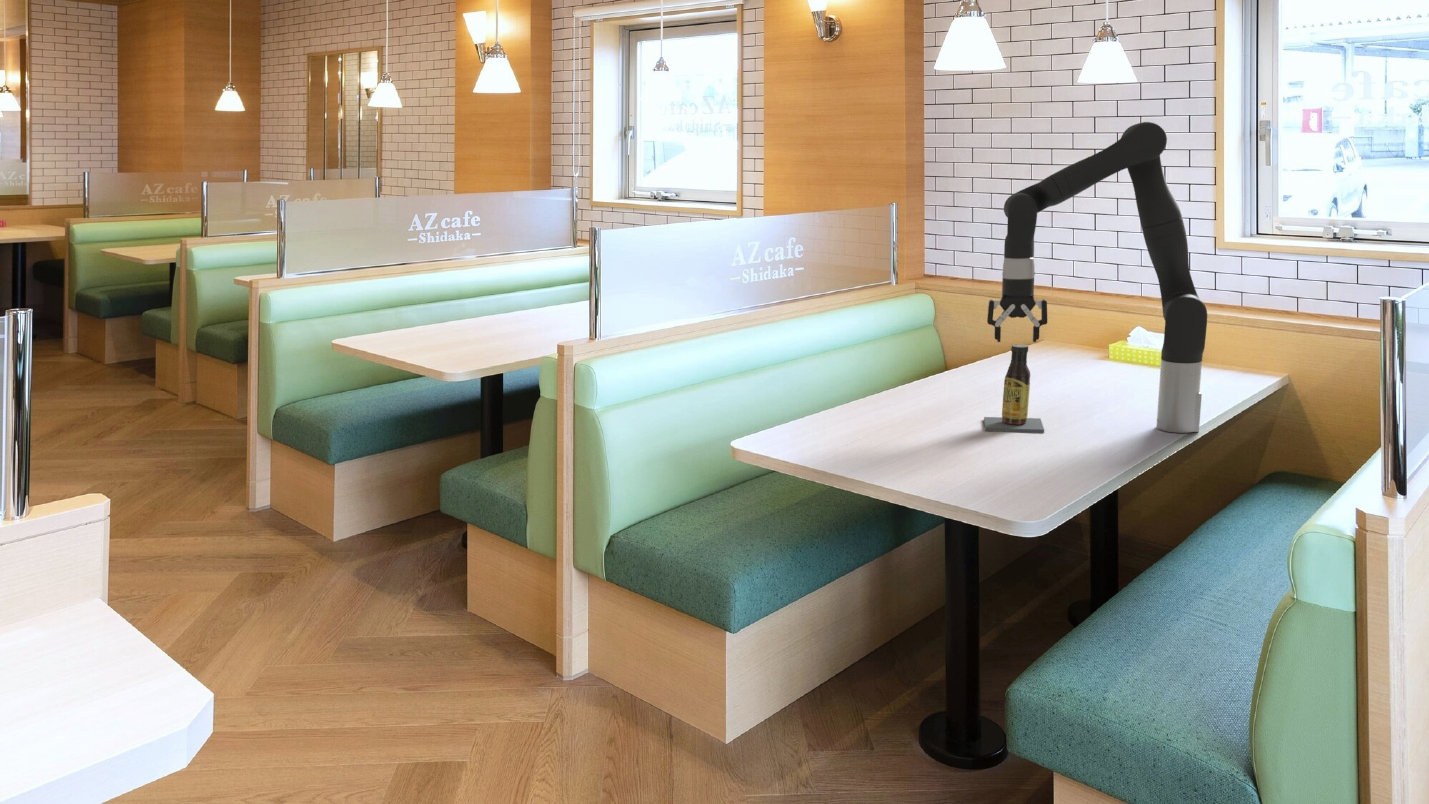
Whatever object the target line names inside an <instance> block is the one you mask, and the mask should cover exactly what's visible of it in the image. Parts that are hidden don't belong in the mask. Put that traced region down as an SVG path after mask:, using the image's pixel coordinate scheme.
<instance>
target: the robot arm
mask: <svg viewBox="0 0 1429 804" xmlns="http://www.w3.org/2000/svg"><path fill="white" fill-rule="evenodd" d="M1167 143H1168V135H1167V132H1166V131H1165V129H1164V128H1163V127H1162V126H1161V125H1159V123H1155V122H1153V121H1152V122H1151V121H1143V122H1142V121H1141V122H1138V123H1135V124H1132V125H1130V126H1129V127H1127V128H1126V129H1125V131H1123V133H1122V135H1121V136H1120V139H1118V140H1117V141H1115V142H1114V143H1112V144H1111V145H1109V146H1108V147H1106V148H1104V149H1102V150H1101V151H1099V152H1096V153H1094V154H1092V155H1090V156H1087V157H1085V158H1083V159H1081V160H1079V161H1076V162H1074V163H1072V164H1069V165H1068V166H1066V167H1063V168H1062V169H1060V170H1058V171H1056V172H1053V174H1050V175H1048V176H1047V177H1046V178H1044V179H1042V180H1041V181H1039V182H1037V183H1034V184H1032V185H1030V186H1028V187H1024V188H1023V189H1021V190H1019V191H1017V192H1014V193H1013V194H1011V195H1010V196H1008V197H1007V199H1006V200H1005V202H1004V204H1003V212H1004V213H1003V214H1004V215H1005V217H1006V218H1007V231H1006V233H1007V234H1006V236H1005V239H1004V246H1003V247H1004V249H1003V250H1004V252H1003V257H1004V258H1003V263H1002V275H1001V276H1002V278H1001V279H1002V281H1001V282H1002V283H1001V285H1002V286H1001V287H1002V288H1001V298H1000V300H995V299H993V298H992V299H989V300H988V307H987V321H986V322H987V324H988V325H991V326H993V327H994V340H995V341H996V340H997V341H996V342H997V343H1001V339H1002V338H1001V337H1002V335H1001V333H1002V332H1001V330H1002V327H1001V324H1002V323H1003V322H1004V321H1005V320H1006V319H1007V318H1008V317H1009V318H1010V319H1011V318H1013V319H1014V318H1022V319H1024V318H1026V317H1027V318H1028V319H1029V320H1030V321H1031V322H1032V324H1033V327H1032V342H1033V343H1037V340H1039V339H1040V327H1042V326H1044V325H1047V324H1048V301H1047V300H1046V299H1045V298H1042V299H1040V300H1038V299H1037V300H1035V297H1034V296H1035V295H1034V293H1035V274H1036V272H1035V233H1036V227H1037V219H1038V213H1040V212H1041V211H1044V210H1046V209H1047V208H1050V207H1054V206H1057V205H1059V204H1061V203H1063V202H1065V201H1068V200H1069V199H1071V198H1074V197H1075V196H1076V195H1078V194H1080V193H1083V191H1086V190H1088V189H1089V188H1091V187H1092V186H1095V185H1097V184H1098V183H1099V182H1101V181H1103V180H1104V179H1107V178H1108V177H1110V176H1112V175H1115V174H1117V173H1119V172H1120V171H1123V170H1125V169H1127V171H1128V174H1129V177H1130V179H1131V182H1132V187H1133V191H1134V196H1135V197H1134V198H1135V203H1136V208H1137V213H1138V217H1139V218H1138V219H1139V220H1140V222H1139V223H1140V227H1141V230H1142V234H1143V239H1144V242H1145V245H1146V249H1147V252H1148V255H1149V259H1150V261H1151V264H1152V266H1153V268H1154V271H1155V273H1156V276H1157V280H1158V284H1159V291H1160V297H1161V299H1160V300H1161V306H1162V315H1163V320H1164V331H1163V344H1162V348H1161V356H1160V367H1159V369H1160V370H1159V371H1160V372H1159V384H1158V385H1159V386H1158V399H1157V412H1156V413H1157V414H1156V429H1158V430H1160V431H1163V432H1167V433H1168V432H1169V433H1179V434H1181V433H1182V434H1185V433H1186V434H1188V433H1193V432H1194V433H1197V432H1198V433H1199V432H1200V421H1201V420H1200V419H1201V409H1202V398H1203V397H1202V392H1200V391H1201V382H1202V381H1201V379H1202V378H1201V377H1202V365H1203V356H1204V355H1203V354H1204V351H1205V346H1206V337H1207V328H1208V327H1207V326H1208V310H1207V306H1206V305H1205V304H1204V302H1203V301H1202V300H1201V299H1200V298H1199V295H1198V293H1197V290H1196V288H1195V284H1194V282H1193V278H1192V275H1191V272H1190V271H1191V270H1190V266H1189V263H1190V262H1189V247H1188V245H1189V243H1188V238H1187V231H1186V228H1185V223H1184V219H1183V215H1182V212H1181V209H1180V206H1179V204H1178V202H1177V200H1176V198H1175V196H1174V194H1173V192H1172V190H1171V189H1170V186H1169V185H1168V182H1167V181H1166V178H1165V177H1166V176H1165V175H1164V171H1163V166H1162V160H1161V154H1162V153H1163V152H1164V150H1165V148H1167V147H1166V146H1167ZM998 306H1000V308H1001V309H1002V310H1003V311H1002V313H1000V315H999V317H998V318H997V319H996V320H995V319H994V310H996V309H997V308H998ZM1035 306H1037V308H1038V309H1039V310H1041V315H1040V316H1041V319H1039V320H1038V319H1037V318H1036V316H1035V315H1034V314H1033V313H1032V310H1033V309H1034V308H1035Z"/></svg>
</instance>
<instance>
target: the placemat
mask: <svg viewBox="0 0 1429 804" xmlns="http://www.w3.org/2000/svg"><path fill="white" fill-rule="evenodd" d="M1026 419H1027V421H1026V423H1025V424H1021V425H1012V424H1006V423H1004V422H1003V421H1002V416H1001V417H1000V416H999V417H995V416H984V417H983V422H984V430H985V432H1003V433H1005V432H1006V433H1007V432H1008V433H1010V432H1011V433H1037V434H1038V433H1039V434H1040V433H1043V434H1044V433H1045V428H1044V425H1043V423H1042V422H1043V421H1042V418H1041V417H1040V418H1038V417H1035V418H1033V417H1027V418H1026Z"/></svg>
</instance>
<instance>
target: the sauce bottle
mask: <svg viewBox="0 0 1429 804" xmlns="http://www.w3.org/2000/svg"><path fill="white" fill-rule="evenodd" d="M1010 350H1011V359H1010V364H1009V366H1008V369H1007V372H1006V374H1005V377H1004V382H1003V393H1002V394H1003V395H1002V408H1001V409H1002V410H1001V417H1002V421H1003V422H1004V423H1006V424H1012V425H1021V424H1025V423H1026V421H1027V419H1026V418H1028V413H1029V402H1030V390H1031V389H1030V388H1031V383H1030V382H1031V370H1030V369H1029V366H1028V364H1027V363H1028V361H1027V360H1028V352H1029V345H1026V344H1019V343H1018V344H1012V345H1011V347H1010Z"/></svg>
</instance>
